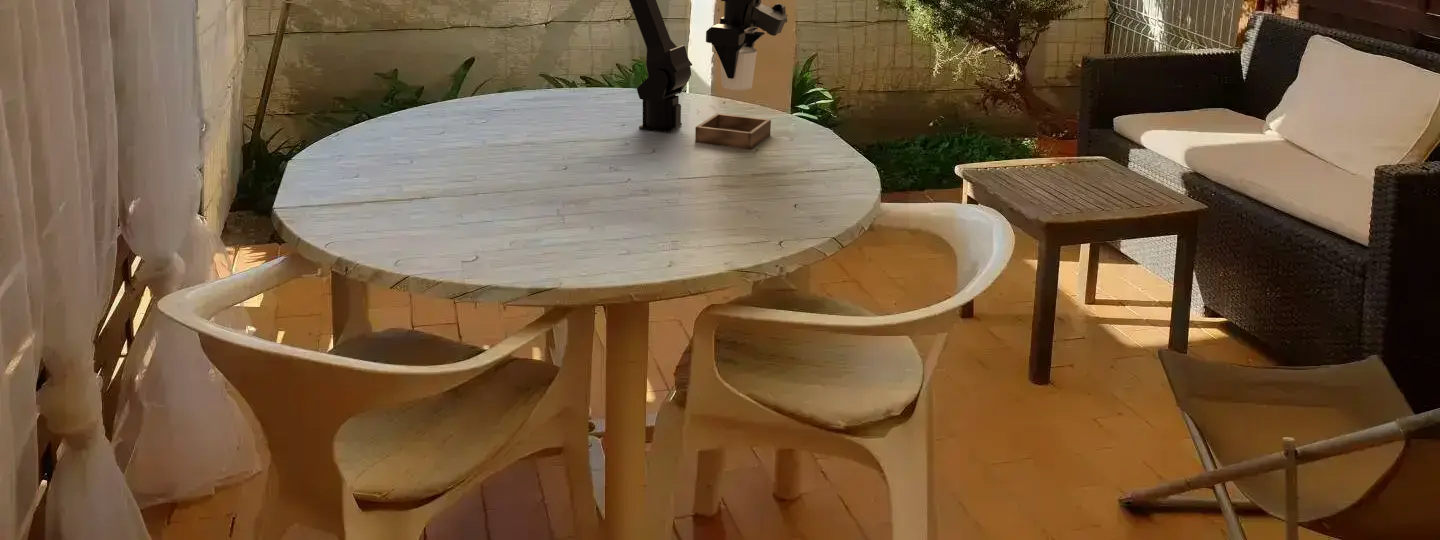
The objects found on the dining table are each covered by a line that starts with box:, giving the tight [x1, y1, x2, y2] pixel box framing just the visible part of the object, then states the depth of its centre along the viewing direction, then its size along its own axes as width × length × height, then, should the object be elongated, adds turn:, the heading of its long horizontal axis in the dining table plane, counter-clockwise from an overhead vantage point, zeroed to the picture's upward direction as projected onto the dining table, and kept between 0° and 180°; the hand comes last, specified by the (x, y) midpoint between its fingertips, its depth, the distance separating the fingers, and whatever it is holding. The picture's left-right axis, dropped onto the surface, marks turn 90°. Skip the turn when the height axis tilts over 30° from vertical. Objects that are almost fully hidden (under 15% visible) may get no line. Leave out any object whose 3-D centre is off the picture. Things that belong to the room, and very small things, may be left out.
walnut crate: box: [694, 113, 772, 150], centre depth 237 cm, size 11×11×3 cm
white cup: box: [719, 46, 758, 91], centre depth 232 cm, size 7×7×7 cm
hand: (736, 74), depth 233 cm, fingers closed on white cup, 6 cm apart
